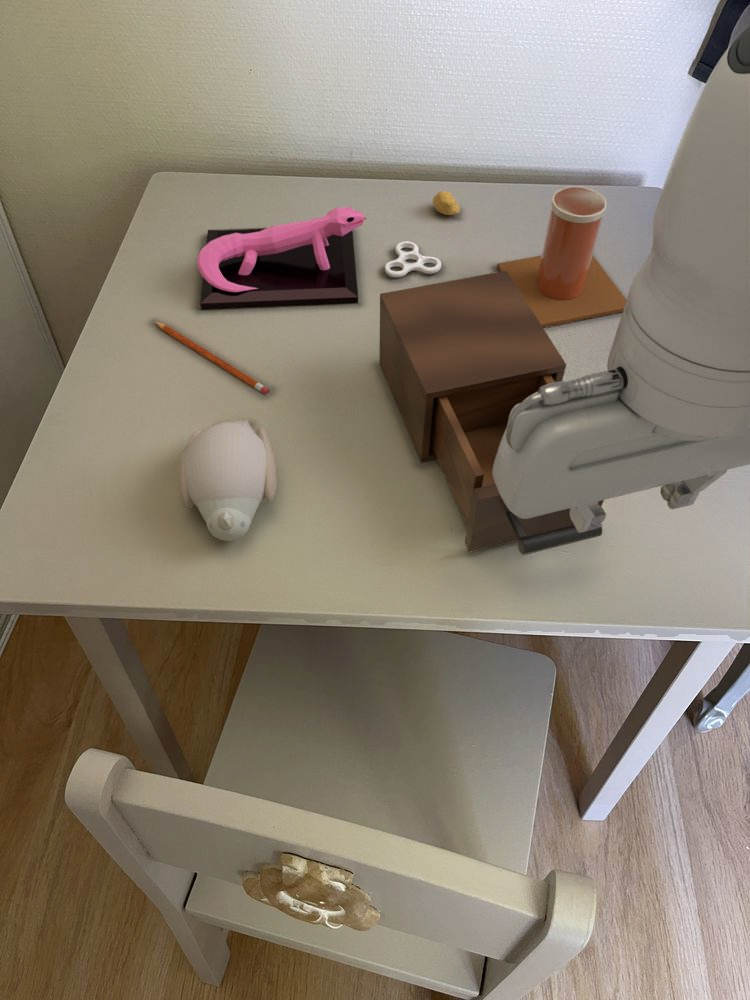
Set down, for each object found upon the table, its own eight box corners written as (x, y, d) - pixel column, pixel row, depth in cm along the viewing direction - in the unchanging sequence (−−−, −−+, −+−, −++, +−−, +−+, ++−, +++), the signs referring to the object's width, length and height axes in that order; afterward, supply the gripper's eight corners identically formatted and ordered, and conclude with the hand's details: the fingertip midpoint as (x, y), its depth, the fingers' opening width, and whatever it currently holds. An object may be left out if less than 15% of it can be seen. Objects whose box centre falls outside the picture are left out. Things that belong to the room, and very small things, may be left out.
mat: (585, 251, 98) (586, 247, 97) (630, 310, 91) (631, 306, 90) (496, 267, 95) (497, 263, 95) (535, 329, 89) (536, 325, 88)
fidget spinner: (387, 280, 94) (387, 274, 93) (377, 248, 97) (377, 243, 97) (443, 273, 94) (443, 268, 94) (431, 242, 98) (431, 237, 98)
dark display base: (370, 302, 91) (370, 249, 85) (199, 309, 90) (187, 256, 85) (363, 230, 100) (362, 177, 94) (207, 236, 99) (197, 182, 93)
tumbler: (571, 266, 95) (592, 182, 86) (592, 295, 91) (616, 211, 82) (527, 274, 94) (543, 190, 85) (547, 304, 90) (565, 220, 81)
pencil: (265, 396, 82) (264, 391, 82) (152, 325, 89) (151, 321, 89) (270, 392, 83) (269, 387, 82) (158, 322, 89) (156, 317, 89)
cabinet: (548, 434, 79) (566, 364, 71) (420, 463, 76) (426, 393, 69) (495, 341, 87) (506, 270, 80) (379, 364, 85) (379, 293, 77)
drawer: (617, 558, 69) (641, 505, 62) (486, 592, 67) (497, 541, 60) (537, 417, 79) (551, 360, 73) (421, 443, 77) (425, 386, 71)
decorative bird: (187, 560, 70) (169, 510, 64) (186, 429, 79) (171, 375, 73) (285, 548, 70) (277, 498, 64) (272, 420, 80) (264, 366, 74)
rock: (455, 222, 101) (457, 202, 99) (427, 214, 102) (428, 194, 100) (465, 209, 103) (467, 189, 101) (437, 201, 104) (439, 181, 102)
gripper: (540, 439, 37) (502, 588, 48) (901, 357, 41) (789, 513, 52) (492, 353, 41) (466, 509, 52) (827, 284, 44) (736, 445, 55)
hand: (629, 511), depth 52 cm, fingers open, 5 cm apart
